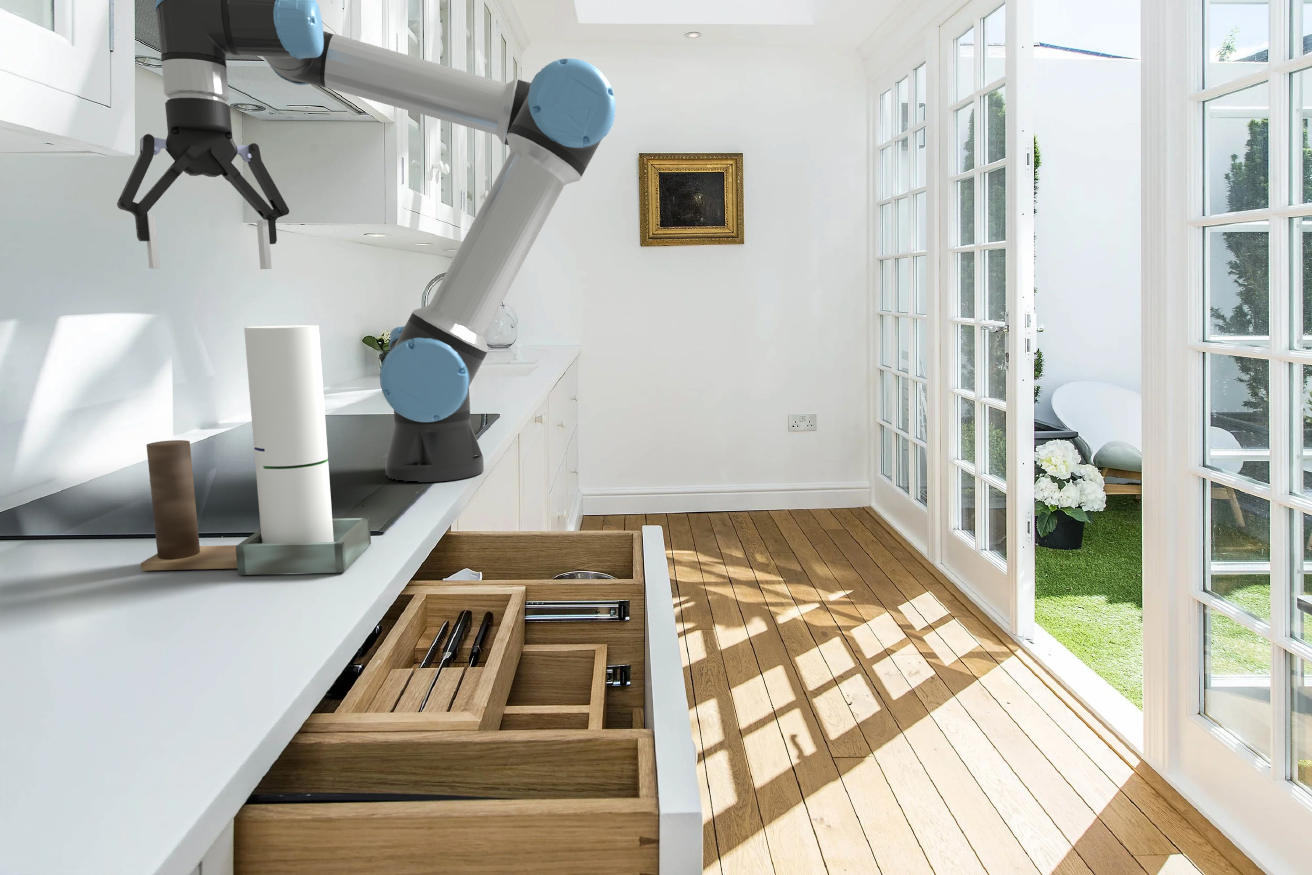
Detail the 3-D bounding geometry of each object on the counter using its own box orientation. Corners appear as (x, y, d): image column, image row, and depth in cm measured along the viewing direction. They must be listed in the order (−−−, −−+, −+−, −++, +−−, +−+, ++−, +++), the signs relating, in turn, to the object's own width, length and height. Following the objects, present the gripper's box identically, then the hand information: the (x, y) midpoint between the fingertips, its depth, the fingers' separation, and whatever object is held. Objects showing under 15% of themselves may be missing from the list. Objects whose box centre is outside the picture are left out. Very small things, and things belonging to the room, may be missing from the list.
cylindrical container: (310, 547, 102) (294, 324, 98) (348, 557, 98) (332, 325, 94) (250, 562, 96) (230, 327, 92) (287, 574, 92) (268, 328, 88)
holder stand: (129, 577, 91) (116, 452, 89) (179, 547, 101) (168, 435, 99) (344, 572, 92) (335, 448, 90) (371, 543, 102) (364, 432, 100)
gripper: (289, 116, 127) (300, 269, 130) (80, 94, 112) (99, 268, 115) (305, 107, 121) (316, 268, 124) (88, 83, 106) (107, 267, 109)
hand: (212, 268), depth 120 cm, fingers open, 13 cm apart
